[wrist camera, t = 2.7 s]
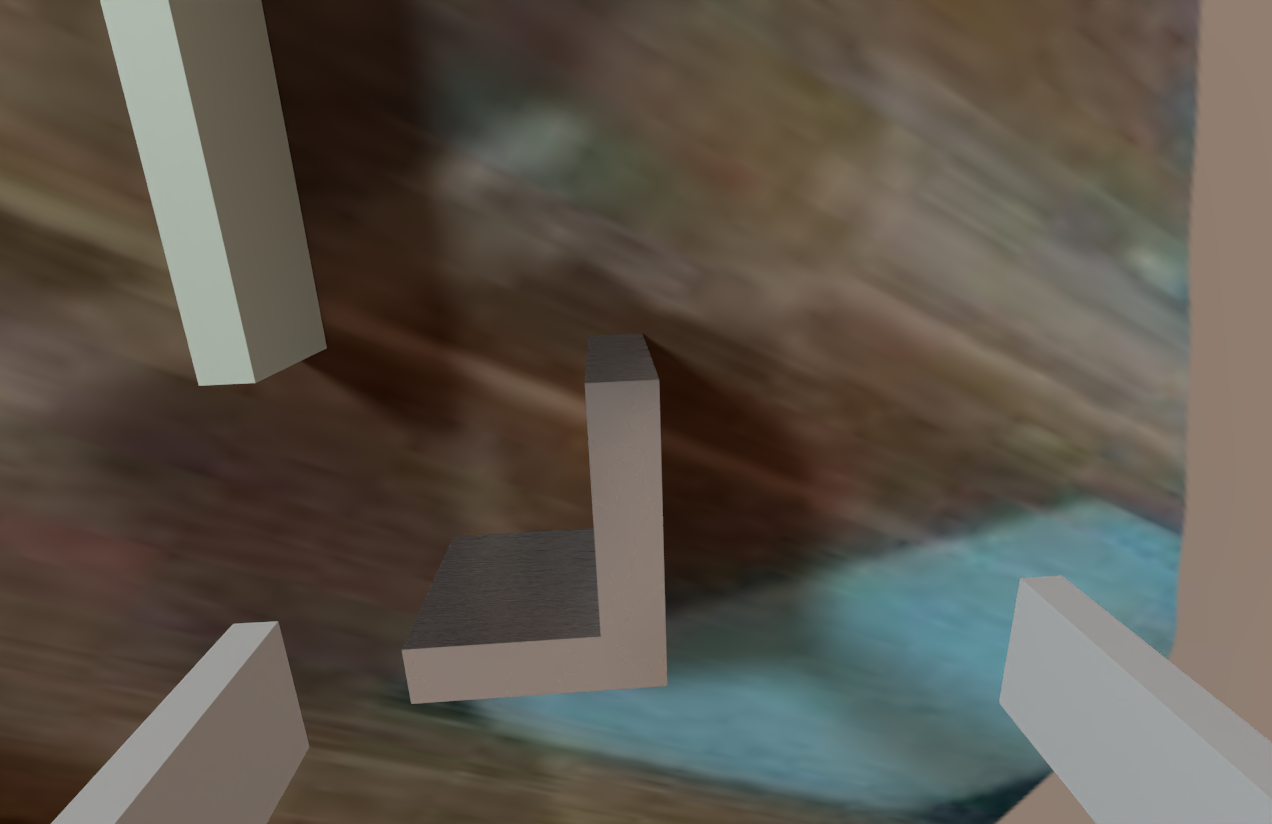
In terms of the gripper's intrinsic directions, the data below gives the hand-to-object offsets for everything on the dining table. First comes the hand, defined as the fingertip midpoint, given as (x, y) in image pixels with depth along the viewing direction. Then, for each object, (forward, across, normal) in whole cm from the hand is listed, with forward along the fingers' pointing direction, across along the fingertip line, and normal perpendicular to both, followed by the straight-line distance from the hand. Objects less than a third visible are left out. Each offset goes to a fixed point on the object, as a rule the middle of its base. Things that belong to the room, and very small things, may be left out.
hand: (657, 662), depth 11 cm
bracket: (+14, +3, +2) cm, 14 cm away
